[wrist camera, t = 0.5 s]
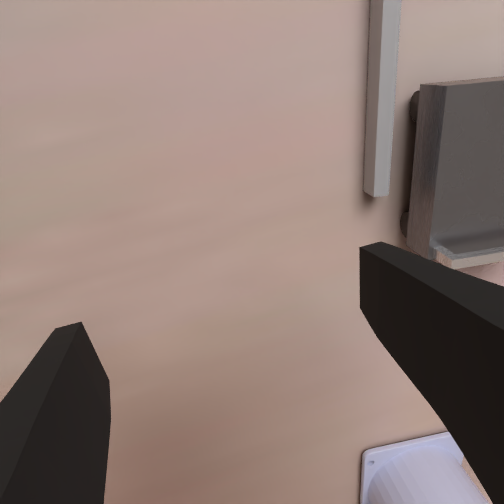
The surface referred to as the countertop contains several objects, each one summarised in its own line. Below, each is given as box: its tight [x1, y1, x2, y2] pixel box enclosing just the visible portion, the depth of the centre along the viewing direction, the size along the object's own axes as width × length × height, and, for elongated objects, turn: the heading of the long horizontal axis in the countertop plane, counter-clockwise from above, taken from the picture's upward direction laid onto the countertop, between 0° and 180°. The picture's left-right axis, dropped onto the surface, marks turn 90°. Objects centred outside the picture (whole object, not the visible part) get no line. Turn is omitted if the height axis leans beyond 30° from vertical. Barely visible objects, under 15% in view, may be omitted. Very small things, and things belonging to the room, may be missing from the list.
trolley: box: [401, 76, 504, 269], centre depth 20 cm, size 8×7×4 cm
